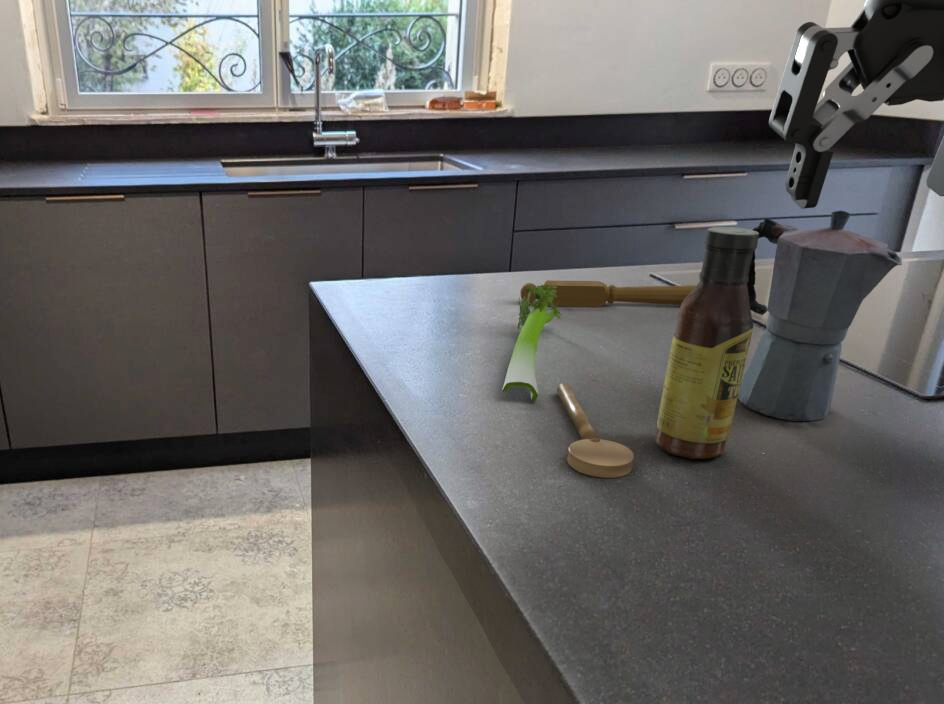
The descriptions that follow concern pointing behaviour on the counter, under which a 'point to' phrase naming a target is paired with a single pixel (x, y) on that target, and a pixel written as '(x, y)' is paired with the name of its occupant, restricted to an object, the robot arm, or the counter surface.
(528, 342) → the celery stalk
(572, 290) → the tap handle
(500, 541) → the counter surface
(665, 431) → the sauce bottle
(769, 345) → the moka pot
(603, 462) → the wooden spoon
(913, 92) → the robot arm
